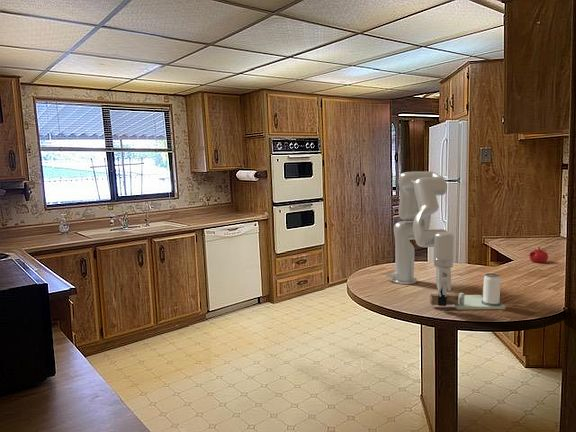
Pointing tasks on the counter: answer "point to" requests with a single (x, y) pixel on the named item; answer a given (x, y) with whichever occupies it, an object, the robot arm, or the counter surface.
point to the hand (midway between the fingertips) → (442, 305)
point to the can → (491, 289)
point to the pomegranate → (538, 256)
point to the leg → (451, 299)
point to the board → (475, 302)
